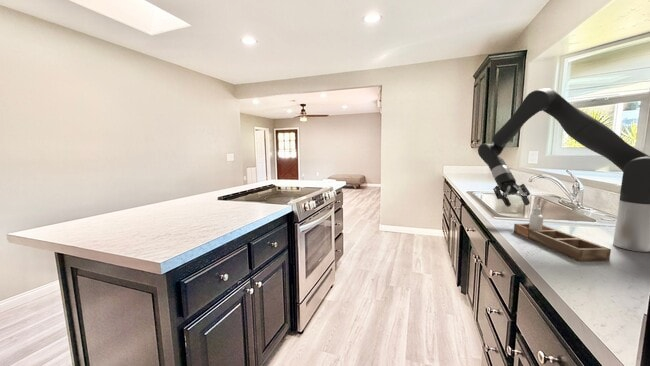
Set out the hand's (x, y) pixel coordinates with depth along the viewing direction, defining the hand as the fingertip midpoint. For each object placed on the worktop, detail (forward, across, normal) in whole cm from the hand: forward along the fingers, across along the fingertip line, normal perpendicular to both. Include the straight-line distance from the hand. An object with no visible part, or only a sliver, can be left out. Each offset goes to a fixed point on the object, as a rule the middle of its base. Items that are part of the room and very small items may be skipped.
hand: (518, 205), depth 118 cm
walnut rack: (+22, -2, -9) cm, 23 cm away
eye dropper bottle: (+14, -1, -2) cm, 15 cm away
